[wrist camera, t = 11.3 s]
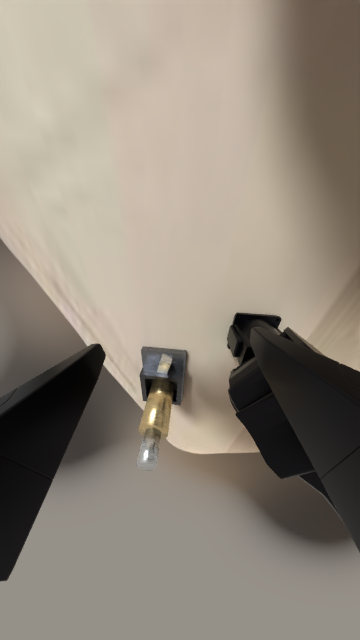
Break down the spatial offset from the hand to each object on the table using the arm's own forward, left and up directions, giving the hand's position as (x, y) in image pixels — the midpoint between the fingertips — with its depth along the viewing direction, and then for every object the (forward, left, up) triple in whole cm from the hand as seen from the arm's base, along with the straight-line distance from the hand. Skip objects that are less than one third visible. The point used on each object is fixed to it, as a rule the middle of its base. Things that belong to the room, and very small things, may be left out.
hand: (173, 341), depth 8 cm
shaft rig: (+3, +19, -13) cm, 23 cm away
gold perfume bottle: (+3, +19, -12) cm, 22 cm away
